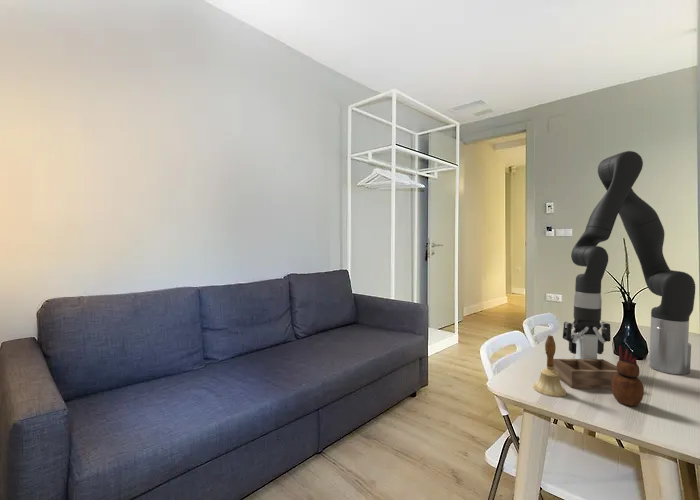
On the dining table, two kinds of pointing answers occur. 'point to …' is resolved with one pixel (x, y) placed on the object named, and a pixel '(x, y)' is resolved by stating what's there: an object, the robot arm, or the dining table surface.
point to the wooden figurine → (627, 380)
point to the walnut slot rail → (585, 372)
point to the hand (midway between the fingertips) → (585, 353)
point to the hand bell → (550, 374)
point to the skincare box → (587, 347)
